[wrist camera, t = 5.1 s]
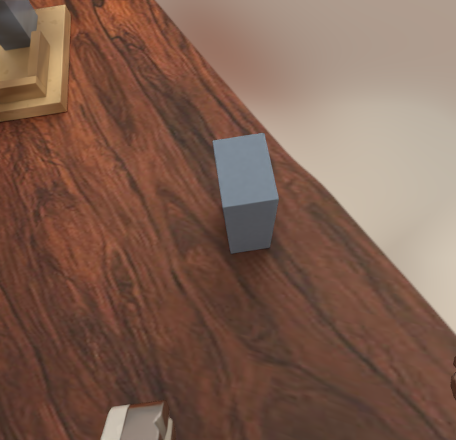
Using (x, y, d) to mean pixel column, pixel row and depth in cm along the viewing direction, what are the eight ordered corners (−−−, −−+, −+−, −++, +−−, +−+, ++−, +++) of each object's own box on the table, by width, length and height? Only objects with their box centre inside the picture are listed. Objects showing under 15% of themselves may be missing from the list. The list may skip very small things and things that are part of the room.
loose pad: (230, 253, 30) (222, 207, 21) (223, 203, 32) (212, 140, 23) (269, 247, 30) (279, 199, 21) (260, 197, 32) (264, 132, 23)
